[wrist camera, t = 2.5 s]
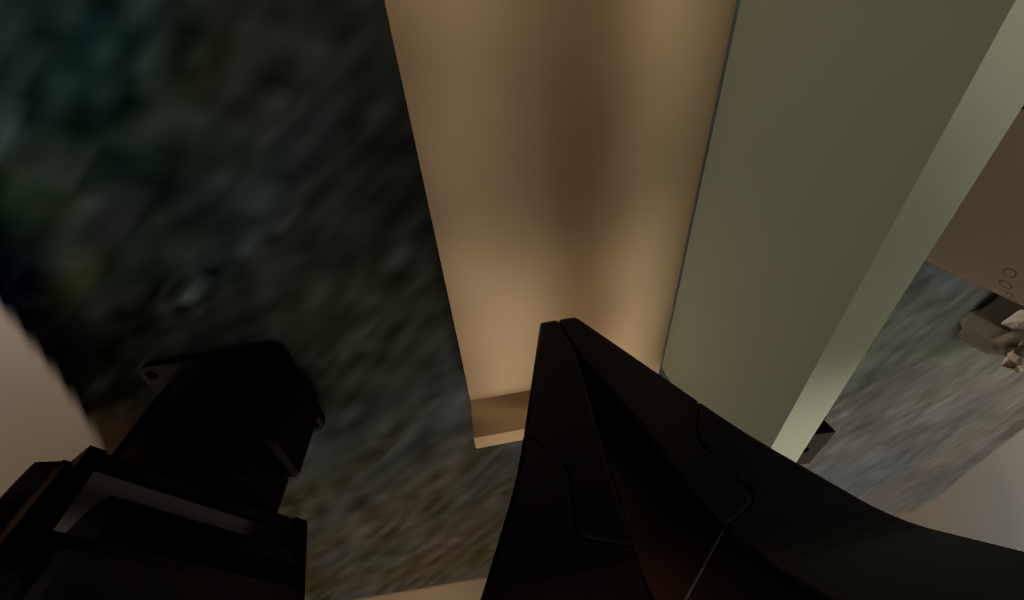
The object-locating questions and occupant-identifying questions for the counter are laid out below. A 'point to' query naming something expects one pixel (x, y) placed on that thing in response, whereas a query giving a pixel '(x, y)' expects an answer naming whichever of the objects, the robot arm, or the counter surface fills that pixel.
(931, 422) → the counter surface
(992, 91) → the panel
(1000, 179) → the travel mug
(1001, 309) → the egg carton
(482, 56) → the cart bed
